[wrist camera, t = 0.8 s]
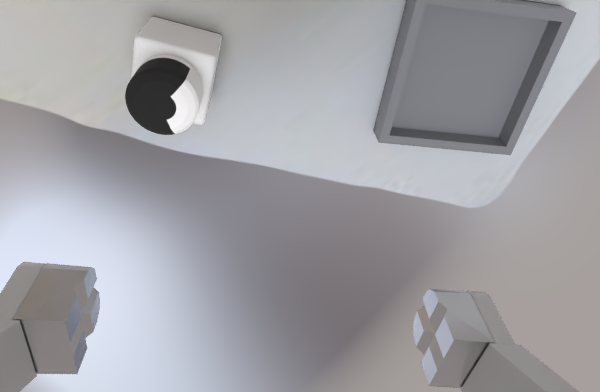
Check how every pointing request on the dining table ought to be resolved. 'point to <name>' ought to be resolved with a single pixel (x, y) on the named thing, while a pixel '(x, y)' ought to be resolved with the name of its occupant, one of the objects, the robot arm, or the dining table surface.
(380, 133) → the sorting tray
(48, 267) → the robot arm
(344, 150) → the dining table surface
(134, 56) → the medicine bottle
